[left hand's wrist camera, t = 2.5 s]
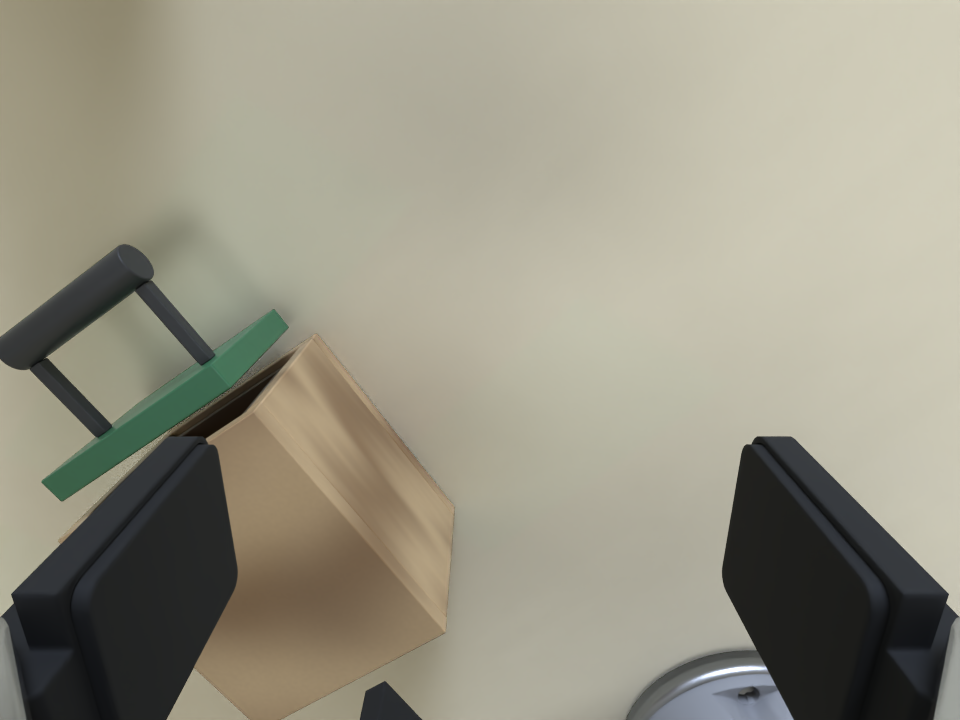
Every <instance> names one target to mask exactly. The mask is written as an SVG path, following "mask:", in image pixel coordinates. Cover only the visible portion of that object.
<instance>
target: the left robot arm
mask: <svg viewBox="0 0 960 720" xmlns="http://www.w3.org/2000/svg"><path fill="white" fill-rule="evenodd" d="M237 578H238V567H237V561H236V555H235V549H234V543H233V537H232V531H231V525H230V519H229V513H228V507H227V501H226V495H225V489H224V483H223V477H222V472H221V466H220V460H219V454H218V450H217V448H216V446H215V445H208V442H207V440H206V439H205V438H204V437H168V438H166V439H165V440H164V441H163V442H162V443H161V444H160V445H159V446H158V447H157V448H156V449H155V450H154V451H153V452H152V453H151V454H150V455H149V456H148V457H147V458H146V459H145V460H144V461H143V462H142V463H141V464H140V465H139V466H138V467H137V468H136V469H135V470H134V471H133V472H132V473H131V474H130V475H129V476H128V477H127V478H126V479H125V480H124V481H123V482H122V483H121V484H120V485H119V486H118V487H117V488H116V489H115V490H114V491H113V492H112V493H111V494H110V495H109V496H108V497H107V498H106V499H105V500H104V501H103V502H102V503H101V504H100V505H99V506H98V507H97V508H96V509H95V510H94V511H93V512H92V513H91V514H90V515H89V516H88V517H87V518H86V519H85V520H84V521H83V522H82V523H81V524H80V525H79V526H78V527H77V528H76V529H75V530H74V531H73V532H72V533H71V534H70V535H69V536H68V537H67V538H66V539H65V540H64V541H63V542H62V543H61V544H60V546H59V547H58V548H57V549H56V550H55V551H54V552H53V553H52V554H51V555H50V556H49V557H48V558H47V559H46V560H45V561H44V562H43V563H42V564H41V565H40V566H39V567H38V568H37V569H36V570H35V571H34V572H33V573H32V574H31V575H30V576H29V577H28V578H27V579H26V580H25V581H24V582H23V583H22V584H21V585H20V586H19V587H18V588H17V589H16V590H15V591H14V592H13V593H12V594H11V595H12V598H13V601H14V604H13V605H12V606H11V607H10V608H9V609H8V610H7V611H6V612H5V613H4V614H3V615H2V616H1V617H0V720H166V719H167V718H168V716H169V714H170V712H171V710H172V708H173V706H174V704H175V702H176V700H177V698H178V697H179V695H180V693H181V691H182V689H183V687H184V685H185V683H186V681H187V679H188V678H189V676H190V674H191V672H192V670H193V668H194V666H195V664H196V662H197V660H198V658H199V657H200V655H201V653H202V651H203V649H204V647H205V645H206V643H207V641H208V639H209V638H210V636H211V634H212V632H213V630H214V628H215V626H216V624H217V622H218V620H219V619H220V617H221V615H222V613H223V611H224V609H225V607H226V605H227V603H228V601H229V599H230V598H231V596H232V594H233V592H234V590H235V587H236V583H237ZM722 578H723V583H724V587H725V590H726V592H727V594H728V596H729V598H730V599H731V601H732V603H733V605H734V607H735V609H736V611H737V613H738V615H739V617H740V619H741V620H742V622H743V624H744V626H745V628H746V630H747V632H748V634H749V636H750V638H751V639H752V641H753V643H754V645H755V647H756V649H757V651H758V653H759V655H760V657H761V658H762V660H763V662H764V664H765V666H766V668H767V670H768V672H769V674H770V676H771V678H772V679H773V681H774V683H775V685H776V687H777V689H778V691H779V693H780V695H781V697H782V698H783V700H784V702H785V704H786V706H787V708H788V710H789V712H790V714H791V716H792V718H793V719H794V720H960V617H959V616H958V615H957V614H956V613H955V612H954V611H953V610H952V609H951V608H950V607H949V606H948V605H947V604H946V601H947V598H948V595H949V594H948V593H947V592H946V591H945V590H944V589H943V588H942V587H941V586H940V585H939V584H938V583H937V582H936V581H935V580H934V579H933V578H932V577H931V576H930V575H929V574H928V573H927V572H926V571H925V570H924V569H923V568H922V567H921V566H920V565H919V564H918V563H917V562H916V561H915V560H914V559H913V558H912V557H911V556H910V555H909V554H908V553H907V552H906V551H905V550H904V549H903V548H902V547H901V546H900V545H899V543H898V542H897V541H896V540H895V539H894V538H893V537H892V536H891V535H890V534H889V533H888V532H887V531H886V530H885V529H884V528H883V527H882V526H881V525H880V524H879V523H878V522H877V521H876V520H875V519H874V518H873V517H872V516H871V515H870V514H869V513H868V512H867V511H866V510H865V509H864V508H863V507H862V506H861V505H860V504H859V503H858V502H857V501H856V500H855V499H854V498H853V497H852V496H851V495H850V494H849V493H848V492H847V491H846V490H845V489H844V488H843V487H842V486H841V485H840V484H839V483H838V482H837V481H836V480H835V479H834V478H833V477H832V476H831V475H830V474H829V473H828V472H827V471H826V470H825V469H824V468H823V467H822V466H821V465H820V464H819V463H818V462H817V461H816V460H815V459H814V458H813V457H812V456H811V455H810V454H809V453H808V452H807V451H806V450H805V449H804V448H803V447H802V446H801V445H800V444H799V443H798V442H797V441H796V440H795V439H794V438H792V437H756V438H755V439H754V440H753V442H752V445H745V446H744V448H743V450H742V454H741V460H740V466H739V472H738V477H737V483H736V489H735V495H734V501H733V507H732V513H731V519H730V525H729V531H728V537H727V543H726V549H725V555H724V561H723V567H722Z"/></svg>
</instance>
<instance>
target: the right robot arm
mask: <svg viewBox="0 0 960 720" xmlns="http://www.w3.org/2000/svg"><path fill="white" fill-rule="evenodd" d="M360 720H422V719H421V718H420V717H419V716H418V715H417V714H416V713H415V712H414V711H413V710H412V709H411V708H410V707H409V706H408V704H407V703H406V702H405V701H404V700H403V699H402V698H401V697H400V696H399V695H398V694H397V693H396V692H395V691H394V690H393V689H392V688H391V687H390V686H389V684H388V683H387V682H386V681H384V682H382V683H380V684H378V685H377V686H375V687H373V688H371V689H369V690H367V691H366V693H365V697H364V702H363V707H362V712H361V717H360ZM626 720H794V719H793V718H792V716H791V714H790V712H789V710H788V708H787V706H786V704H785V702H784V700H783V698H782V697H781V695H780V693H779V691H778V689H777V687H776V685H775V683H774V681H773V679H772V678H771V676H770V674H769V672H768V670H767V668H766V666H765V664H764V662H763V660H762V658H761V657H760V655H759V653H758V651H733V652H725V653H720V654H715V655H710V656H707V657H703V658H700V659H697V660H694V661H692V662H689V663H687V664H684V665H682V666H680V667H678V668H676V669H674V670H673V671H671V672H669V673H667V674H666V675H664V676H663V677H661V678H660V679H659V680H657V681H656V682H655V683H654V684H652V685H651V686H650V687H649V688H648V689H647V690H646V691H645V692H644V693H643V694H642V695H641V696H640V697H639V699H638V700H637V701H636V703H635V704H634V706H633V707H632V709H631V711H630V712H629V714H628V716H627V719H626Z"/></svg>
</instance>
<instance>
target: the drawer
mask: <svg viewBox="0 0 960 720" xmlns="http://www.w3.org/2000/svg"><path fill="white" fill-rule="evenodd" d="M153 275H154V270H153V267H152V265H151V263H150V261H149V260H148V259H147V258H146V256H145V255H144V254H143V253H141V252H140V251H139V250H138V249H136V248H134V247H132V246H130V245H126V244H123V245H119V246H118V247H117V248H115V249H114V250H113V251H111V252H110V253H109V254H107V255H106V256H105V257H104V258H102V259H101V260H100V261H98V262H97V263H96V264H95V265H93V266H92V267H91V268H89V269H88V270H87V271H85V272H84V273H83V274H82V275H80V276H79V277H78V278H76V279H75V280H74V281H72V282H71V283H70V284H69V285H67V286H66V287H65V288H63V289H62V290H61V291H59V292H58V293H57V294H56V295H54V296H53V297H52V298H50V299H49V300H48V301H46V302H45V303H44V304H43V305H41V306H40V307H39V308H37V309H36V310H35V311H33V312H32V313H31V314H30V315H28V316H27V317H26V318H24V319H23V320H22V321H21V322H19V323H18V324H17V325H15V326H14V327H13V328H11V329H10V330H9V331H8V332H6V333H5V334H4V335H2V336H1V337H0V359H1V360H2V361H3V362H4V363H5V364H7V365H8V366H10V367H12V368H15V369H18V370H27V369H30V370H31V371H32V372H33V373H34V374H35V375H36V377H37V378H38V379H39V380H40V381H41V382H42V383H43V384H44V385H45V386H46V387H47V388H48V389H49V390H50V391H51V392H52V393H53V394H54V395H55V396H56V397H57V398H58V399H59V400H60V401H61V402H62V403H63V404H64V405H65V406H66V407H67V408H68V409H69V410H70V411H71V412H72V413H73V414H74V415H75V416H76V417H77V418H78V419H79V420H80V421H81V422H82V423H83V424H84V425H85V426H86V427H87V428H88V429H89V430H90V432H91V433H92V434H93V435H94V436H95V437H96V438H94V439H93V440H92V441H91V442H89V443H88V444H87V445H86V446H84V447H83V448H82V449H81V450H79V451H78V452H77V453H76V454H74V455H73V456H72V457H71V458H69V459H68V460H67V461H66V462H64V463H63V464H62V465H61V466H59V467H58V468H57V469H56V470H55V471H53V472H52V473H51V474H50V475H48V476H47V477H46V478H45V479H43V480H42V483H43V484H44V485H45V486H46V487H47V488H48V489H49V490H50V491H51V492H52V493H53V494H54V495H55V496H56V497H57V498H58V499H59V500H60V501H64V500H66V499H67V498H69V497H70V496H72V495H73V494H74V493H76V492H77V491H79V490H80V489H82V488H83V487H85V486H86V485H88V484H89V483H91V482H92V481H94V480H95V479H97V478H98V477H100V476H101V475H103V474H104V473H106V472H107V471H109V470H110V469H112V468H113V467H114V466H116V465H117V464H119V463H120V462H122V461H123V460H125V459H126V458H128V457H129V456H131V455H132V454H134V453H135V452H137V451H138V450H140V449H141V448H143V447H144V446H146V445H147V444H149V443H150V442H152V441H153V440H154V439H156V438H157V437H159V436H160V435H162V434H163V433H165V432H166V431H168V430H169V429H171V428H172V427H174V426H175V425H177V424H178V423H180V422H181V421H183V420H184V419H186V418H187V417H189V416H190V415H192V414H193V413H194V412H196V411H197V410H199V409H200V408H202V407H203V406H205V405H206V404H208V403H209V402H211V401H212V400H214V399H215V398H217V397H218V396H220V395H221V394H223V393H224V392H226V391H227V390H229V389H230V388H231V387H232V386H233V385H234V384H235V383H236V382H237V381H238V380H239V379H240V378H241V377H242V376H243V375H244V374H245V373H246V372H247V371H248V370H249V369H250V368H251V367H252V365H253V364H254V363H255V362H256V361H257V360H258V359H259V358H260V357H261V356H262V355H263V354H264V353H265V352H266V351H267V350H268V349H269V348H270V347H271V346H272V345H273V344H274V343H275V342H276V341H277V339H278V338H279V337H280V336H281V335H282V334H283V333H284V332H285V331H286V330H287V329H288V328H289V327H288V326H287V324H286V323H285V322H284V321H283V319H282V318H281V317H280V316H279V315H278V313H277V312H276V311H275V310H274V309H273V310H272V311H270V312H269V313H267V314H266V315H264V316H263V317H261V318H260V319H259V320H257V321H256V322H254V323H253V324H251V325H250V326H249V327H247V328H246V329H244V330H243V331H241V332H240V333H238V334H237V335H236V336H234V337H233V338H231V339H230V340H228V341H227V342H226V343H224V344H223V345H221V346H220V347H218V348H217V349H215V350H214V351H212V350H211V349H210V347H209V346H208V345H207V344H206V343H205V342H204V340H203V339H202V338H201V337H200V336H199V335H198V334H197V332H196V331H195V330H194V329H193V328H192V327H191V325H190V324H189V323H188V322H187V321H186V320H185V318H184V317H183V316H182V315H181V314H180V313H179V312H178V310H177V309H176V308H175V307H174V306H173V305H172V303H171V302H170V301H169V300H168V299H167V298H166V296H165V295H164V294H163V293H162V292H161V291H160V290H159V288H158V287H157V286H156V285H155V284H154V283H153V281H151V280H150V279H152V277H153ZM149 280H150V281H149ZM134 291H135V292H136V293H137V294H138V295H139V296H140V297H141V298H142V300H143V301H144V302H145V303H146V304H147V305H148V306H149V307H150V309H151V310H152V311H153V312H154V313H155V314H156V315H157V317H158V318H159V319H160V320H161V321H162V322H163V323H164V325H165V326H166V327H167V328H168V329H169V330H170V331H171V333H172V334H173V335H174V336H175V337H176V338H177V339H178V341H179V342H180V343H181V344H182V345H183V346H184V347H185V348H186V350H187V351H188V352H189V353H190V354H191V355H192V356H193V358H194V359H195V360H196V361H197V363H195V364H194V365H192V366H191V367H190V368H188V369H187V370H185V371H184V372H182V373H181V374H180V375H178V376H177V377H175V378H174V379H172V380H171V381H169V382H168V383H167V384H165V385H164V386H162V387H161V388H159V389H158V390H157V391H155V392H154V393H152V394H151V395H149V396H148V397H146V398H145V399H144V400H142V401H141V402H139V403H138V404H137V405H135V406H134V407H133V408H132V409H130V410H129V411H128V412H127V413H125V414H124V415H123V416H122V417H120V418H119V419H118V420H117V421H115V422H114V423H113V424H112V425H111V424H110V423H109V422H108V421H107V420H106V419H105V418H104V416H103V415H102V414H101V413H100V412H99V411H98V410H97V409H96V408H95V407H94V406H93V405H92V404H91V403H90V402H89V401H88V400H87V399H86V398H85V397H84V396H83V395H82V394H81V393H80V392H79V391H78V390H77V388H76V387H75V386H74V385H73V384H72V383H71V382H70V381H69V380H68V379H67V378H66V377H65V376H64V375H63V374H62V373H61V372H60V371H59V370H58V369H57V368H56V367H55V366H54V365H53V364H52V363H51V362H50V361H49V359H47V358H46V357H47V356H48V355H50V354H51V353H52V352H54V351H55V350H57V349H58V348H59V347H61V346H62V345H63V344H65V343H66V342H67V341H69V340H70V339H71V338H73V337H74V336H75V335H77V334H78V333H79V332H81V331H82V330H83V329H85V328H86V327H87V326H89V325H90V324H91V323H93V322H94V321H95V320H97V319H98V318H99V317H101V316H102V315H103V314H105V313H106V312H108V311H109V310H110V309H112V308H113V307H114V306H116V305H117V304H118V303H120V302H121V301H122V300H124V299H125V298H126V297H128V296H129V295H130V294H132V293H133V292H134ZM44 358H45V359H44ZM283 367H284V365H283V366H282V367H280V368H279V369H277V370H276V371H274V372H273V373H271V374H270V375H268V376H267V377H266V378H264V379H263V380H261V381H260V382H258V383H257V384H255V385H254V386H252V387H251V388H249V389H248V390H246V391H245V392H243V393H242V394H240V395H239V396H237V397H236V398H234V399H233V400H231V401H230V402H228V403H227V404H225V405H224V406H222V407H221V408H219V409H218V410H216V411H215V412H213V413H212V414H210V415H209V416H207V417H206V418H204V419H203V420H201V421H200V422H198V423H197V424H195V425H194V426H192V427H191V428H189V429H188V430H186V431H185V432H183V433H182V434H180V435H179V436H178V437H204V438H205V439H206V438H208V437H209V436H211V435H212V434H214V433H215V432H217V431H218V430H220V429H221V428H223V427H224V426H226V425H227V424H229V423H230V422H232V421H233V420H235V419H236V418H238V417H239V416H241V415H242V414H244V413H245V412H246V411H247V410H248V409H249V408H250V406H251V405H252V404H253V403H254V402H255V400H256V399H257V398H258V397H259V395H260V394H261V393H262V392H263V391H264V389H265V388H266V387H267V386H268V385H269V383H270V382H271V381H272V380H273V379H274V377H275V376H276V375H277V374H278V373H279V371H280V370H281V369H282V368H283Z"/></svg>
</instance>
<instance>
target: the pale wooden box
mask: <svg viewBox="0 0 960 720" xmlns="http://www.w3.org/2000/svg"><path fill="white" fill-rule="evenodd" d="M283 365H284V367H283V368H282V369H281V370H280V371H279V373H278V374H277V375H276V376H275V377H274V379H273V380H272V381H271V382H270V383H269V385H268V386H267V387H266V388H265V389H264V391H263V392H262V393H261V394H260V395H259V397H258V398H257V399H256V400H255V402H254V403H253V404H252V405H251V406H250V408H249V409H248V410H247V411H246V412H245V413H244V414H242V415H241V416H239V417H238V418H236V419H235V420H233V421H232V422H230V423H229V424H227V425H226V426H224V427H223V428H221V429H220V430H218V431H217V432H215V433H214V434H212V435H211V436H209V437H208V438H206V440H207V442H208V445H215V446H216V448H217V450H218V454H219V460H220V466H221V472H222V477H223V483H224V489H225V495H226V501H227V507H228V513H229V519H230V525H231V531H232V537H233V543H234V549H235V555H236V561H237V567H238V578H237V583H236V587H235V590H234V592H233V594H232V596H231V598H230V599H229V601H228V603H227V605H226V607H225V609H224V611H223V613H222V615H221V617H220V619H219V620H218V622H217V624H216V626H215V628H214V630H213V632H212V634H211V636H210V638H209V639H208V641H207V643H206V645H205V647H204V649H203V651H202V653H201V655H200V657H199V658H198V660H197V662H196V664H195V666H194V668H195V669H196V670H197V671H198V672H199V673H200V674H201V675H202V676H203V677H204V678H206V679H207V680H208V681H209V682H210V683H211V684H212V685H213V686H214V687H215V688H216V689H217V690H218V691H220V692H221V693H222V694H223V695H224V696H225V697H226V698H227V699H228V700H229V701H230V702H231V703H232V704H234V705H235V706H236V707H237V708H238V709H239V710H240V711H241V712H242V713H243V714H244V715H245V716H246V717H247V718H249V719H250V720H281V719H283V718H284V717H286V716H288V715H290V714H292V713H294V712H296V711H298V710H300V709H302V708H304V707H305V706H307V705H309V704H311V703H313V702H315V701H317V700H319V699H321V698H323V697H324V696H326V695H328V694H330V693H332V692H334V691H336V690H338V689H340V688H342V687H343V686H345V685H347V684H349V683H351V682H353V681H355V680H357V679H359V678H361V677H362V676H364V675H366V674H368V673H370V672H372V671H374V670H376V669H378V668H380V667H381V666H383V665H385V664H387V663H389V662H391V661H393V660H395V659H397V658H399V657H400V656H402V655H404V654H406V653H408V652H410V651H412V650H414V649H416V648H418V647H419V646H421V645H423V644H425V643H427V642H429V641H431V640H433V639H435V638H437V637H438V636H440V635H442V634H444V633H446V624H447V618H446V617H447V606H448V592H449V578H450V565H451V551H452V537H453V524H454V510H455V507H454V506H453V505H452V503H451V502H450V501H449V500H448V498H447V497H446V496H445V494H444V493H443V492H442V491H441V489H440V488H439V487H438V486H437V484H436V483H435V482H434V481H433V479H432V478H431V477H430V476H429V474H428V473H427V472H426V471H425V469H424V468H423V467H422V466H421V464H420V463H419V462H418V460H417V459H416V458H415V457H414V455H413V454H412V453H411V452H410V450H409V449H408V448H407V447H406V445H405V444H404V443H403V442H402V440H401V439H400V438H399V437H398V435H397V434H396V433H395V432H394V430H393V429H392V428H391V426H390V425H389V424H388V423H387V421H386V420H385V419H384V418H383V416H382V415H381V414H380V413H379V411H378V410H377V409H376V408H375V406H374V405H373V404H372V403H371V401H370V400H369V399H368V398H367V396H366V395H365V394H364V392H363V391H362V390H361V389H360V387H359V386H358V385H357V384H356V382H355V381H354V380H353V379H352V377H351V376H350V375H349V374H348V372H347V371H346V370H345V369H344V367H343V366H342V365H341V364H340V362H339V361H338V360H337V358H336V357H335V356H334V355H333V353H332V352H331V351H330V350H329V348H328V347H327V346H326V345H325V343H324V342H323V341H322V340H321V338H320V337H319V336H318V335H317V334H314V335H313V336H311V337H310V338H308V339H307V340H305V341H304V342H302V343H301V344H299V345H298V346H296V347H295V348H293V349H292V350H290V351H289V352H288V353H286V354H285V355H283V356H282V357H280V358H279V359H277V360H276V361H274V362H273V363H271V364H270V365H268V366H267V367H265V368H264V369H262V370H261V371H259V372H258V373H256V374H255V375H253V376H252V377H250V378H249V379H247V380H246V381H244V382H243V383H242V384H240V385H239V386H237V387H236V388H234V389H233V390H231V391H230V392H228V393H227V394H225V395H224V396H222V397H221V398H219V399H218V400H216V401H215V402H213V403H212V404H210V405H209V406H207V407H206V408H204V409H203V410H201V411H200V412H198V413H197V414H196V415H194V416H193V417H191V418H190V419H188V420H187V421H185V422H184V423H182V424H181V425H179V426H178V427H176V428H175V429H173V430H172V431H170V432H169V433H167V434H166V435H165V436H164V437H163V438H162V440H160V441H159V442H158V443H157V444H156V445H155V446H154V447H153V448H152V449H151V450H150V451H149V452H148V453H147V454H146V455H145V456H144V457H143V458H142V459H141V460H140V461H139V462H138V463H137V464H136V465H135V466H133V467H132V468H131V469H130V470H129V471H128V472H127V473H126V474H125V475H124V476H123V477H122V478H121V479H120V480H119V481H118V482H117V483H116V484H115V485H114V486H113V487H112V488H111V489H110V490H109V491H108V492H107V493H106V494H105V495H104V496H103V497H102V498H101V499H100V500H99V501H98V502H97V503H96V504H95V505H93V506H92V507H91V508H90V509H89V510H88V511H87V512H86V513H85V514H84V515H83V516H82V517H81V518H80V519H79V520H78V521H77V522H76V523H75V524H74V525H73V526H72V527H71V528H70V529H69V530H68V531H67V532H66V533H65V534H64V535H63V536H62V537H61V538H60V539H59V540H58V542H59V543H60V544H61V543H62V542H63V541H64V540H65V539H66V538H67V537H68V536H69V535H70V534H71V533H72V532H73V531H74V530H75V529H76V528H77V527H78V526H79V525H80V524H81V523H82V522H83V521H84V520H85V519H86V518H87V517H88V516H89V515H90V514H91V513H92V512H93V511H94V510H95V509H96V508H97V507H98V506H99V505H100V504H101V503H102V502H103V501H104V500H105V499H106V498H107V497H108V496H109V495H110V494H111V493H112V492H113V491H114V490H115V489H116V488H117V487H118V486H119V485H120V484H121V483H122V482H123V481H124V480H125V479H126V478H127V477H128V476H129V475H130V474H131V473H132V472H133V471H134V470H135V469H136V468H137V467H138V466H139V465H140V464H141V463H142V462H143V461H144V460H145V459H146V458H147V457H148V456H149V455H150V454H151V453H152V452H153V451H154V450H155V449H156V448H157V447H158V446H159V445H160V444H161V443H162V442H163V441H164V440H165V439H166V438H168V437H178V436H179V435H180V434H182V433H183V432H185V431H186V430H188V429H189V428H191V427H192V426H194V425H195V424H197V423H198V422H200V421H201V420H203V419H204V418H206V417H207V416H209V415H210V414H212V413H213V412H215V411H216V410H218V409H219V408H221V407H222V406H224V405H225V404H227V403H228V402H230V401H231V400H233V399H234V398H236V397H237V396H239V395H240V394H242V393H243V392H245V391H246V390H248V389H249V388H251V387H252V386H254V385H255V384H257V383H258V382H260V381H261V380H263V379H264V378H266V377H267V376H268V375H270V374H271V373H273V372H274V371H276V370H277V369H279V368H280V367H282V366H283Z"/></svg>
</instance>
